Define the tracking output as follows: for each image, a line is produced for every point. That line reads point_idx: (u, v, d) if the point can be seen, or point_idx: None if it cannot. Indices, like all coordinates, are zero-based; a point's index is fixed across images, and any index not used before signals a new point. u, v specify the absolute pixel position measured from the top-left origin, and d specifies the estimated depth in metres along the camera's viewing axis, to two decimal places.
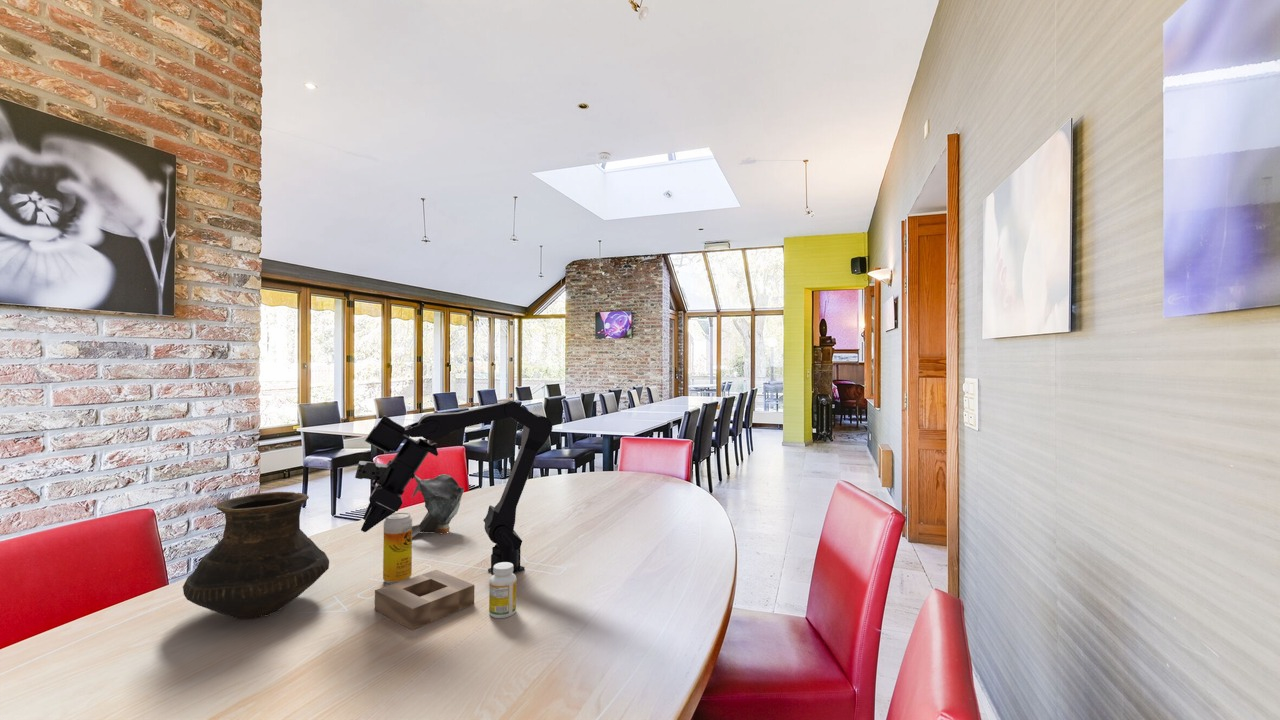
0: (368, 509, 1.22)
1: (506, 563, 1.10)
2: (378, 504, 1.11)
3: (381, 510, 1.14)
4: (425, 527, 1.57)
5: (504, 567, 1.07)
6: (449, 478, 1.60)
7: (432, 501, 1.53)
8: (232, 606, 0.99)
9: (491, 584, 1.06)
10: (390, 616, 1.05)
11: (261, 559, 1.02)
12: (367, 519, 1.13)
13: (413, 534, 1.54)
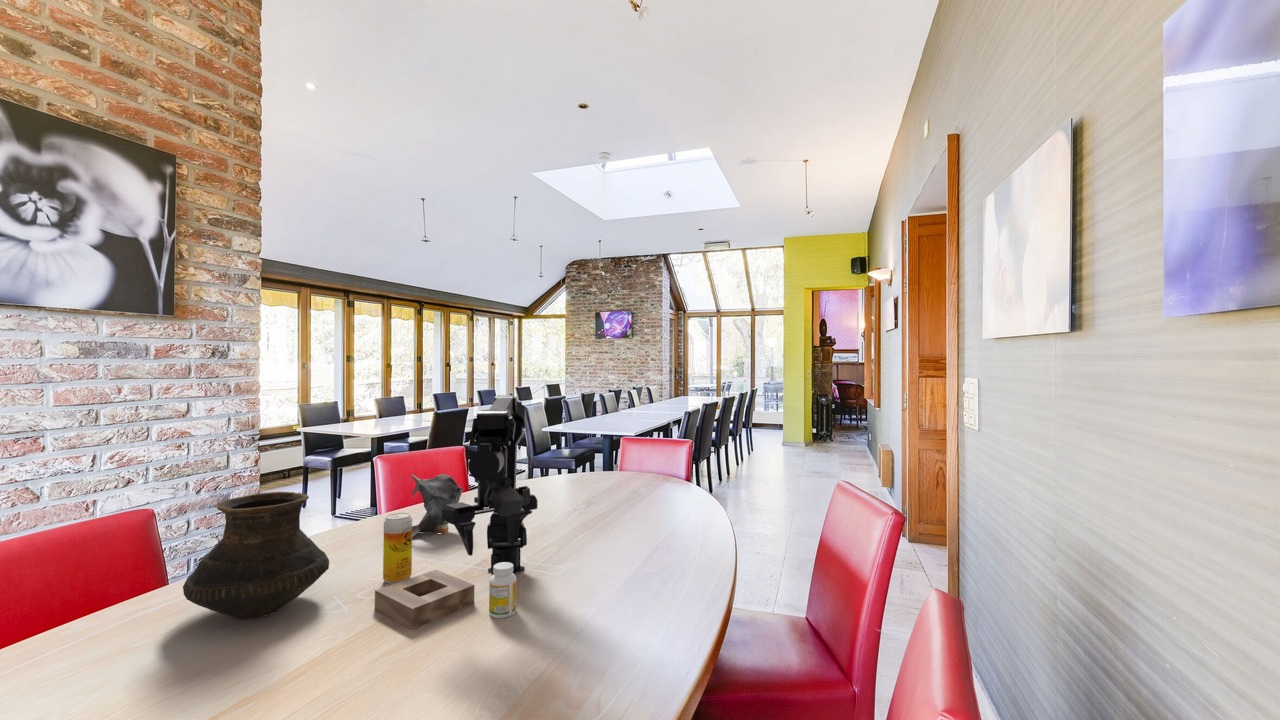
0: None
1: (506, 563, 1.10)
2: None
3: None
4: (424, 527, 1.56)
5: (504, 567, 1.07)
6: (448, 478, 1.60)
7: (431, 501, 1.53)
8: (232, 606, 0.99)
9: (491, 584, 1.06)
10: (390, 616, 1.05)
11: (261, 559, 1.02)
12: None
13: (412, 534, 1.54)
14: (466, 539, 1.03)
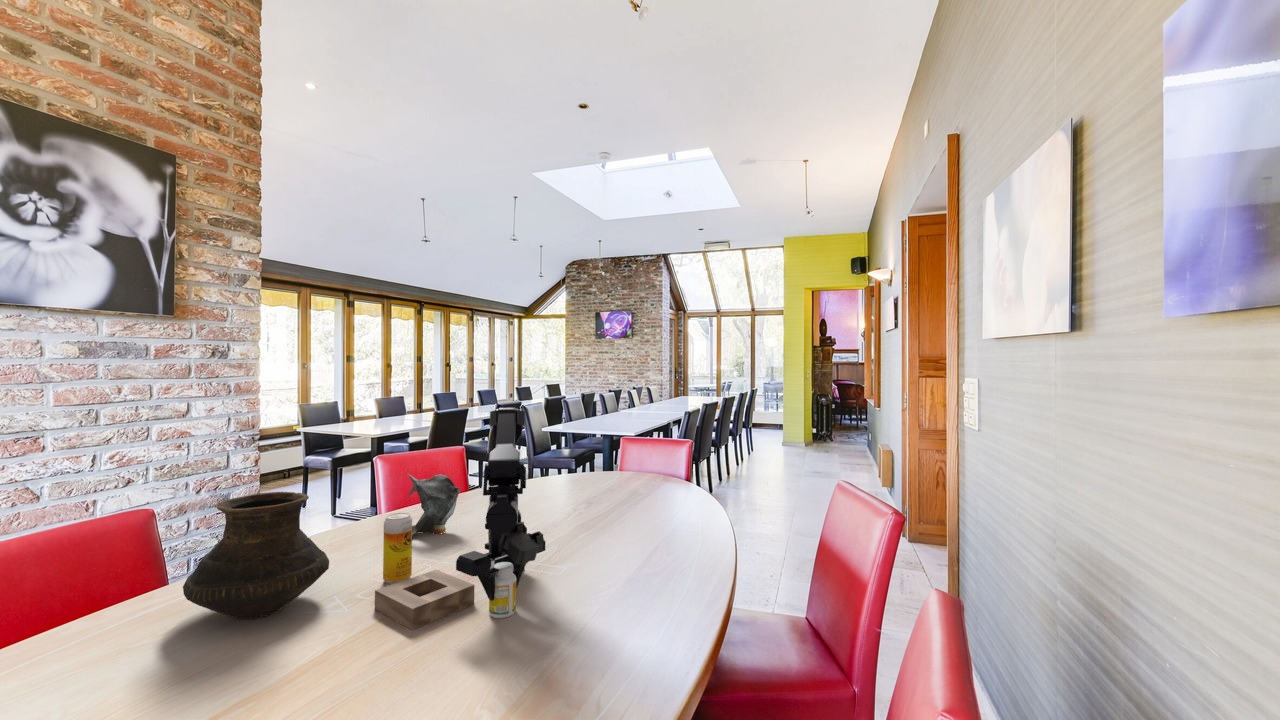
0: None
1: (506, 563, 1.10)
2: None
3: None
4: (421, 528, 1.56)
5: (504, 567, 1.07)
6: (445, 478, 1.60)
7: (428, 502, 1.53)
8: (232, 606, 0.99)
9: None
10: (390, 616, 1.05)
11: (261, 559, 1.02)
12: None
13: None
14: (488, 585, 1.05)
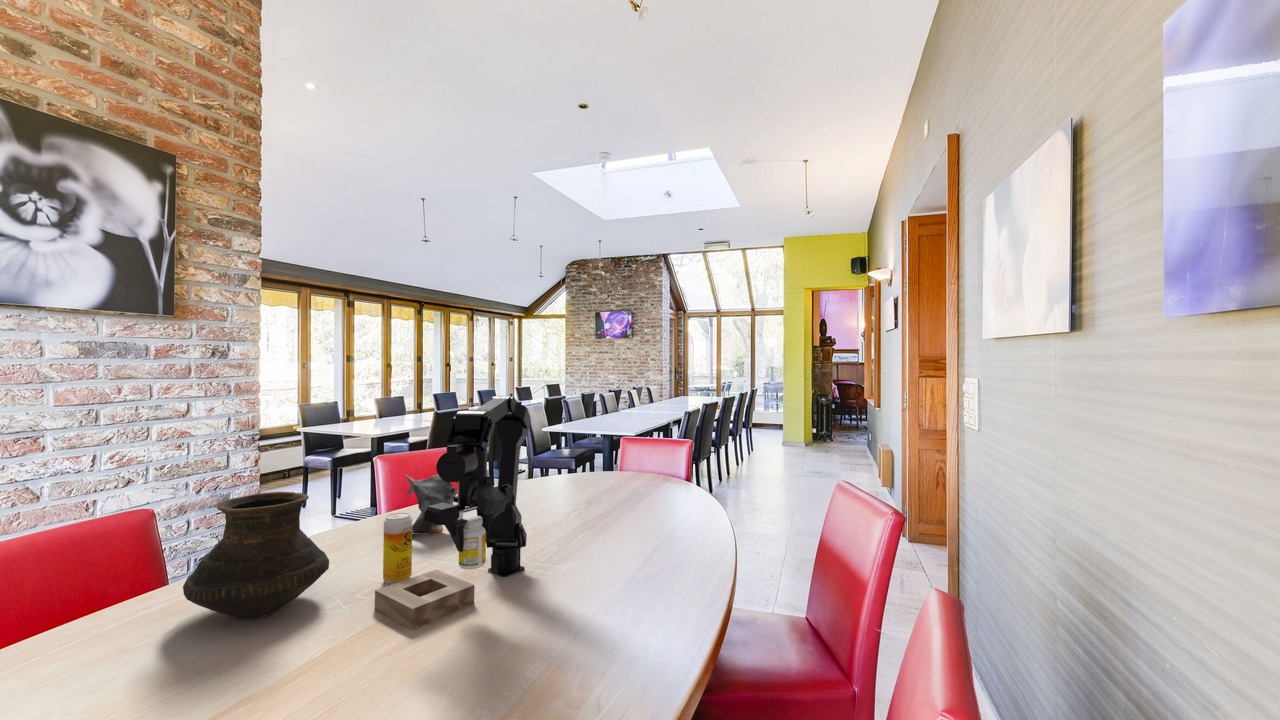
0: None
1: (475, 516, 1.11)
2: None
3: None
4: (418, 528, 1.56)
5: (473, 520, 1.08)
6: None
7: (425, 502, 1.52)
8: (232, 606, 0.99)
9: None
10: (390, 616, 1.05)
11: (261, 559, 1.02)
12: None
13: None
14: (457, 536, 1.06)
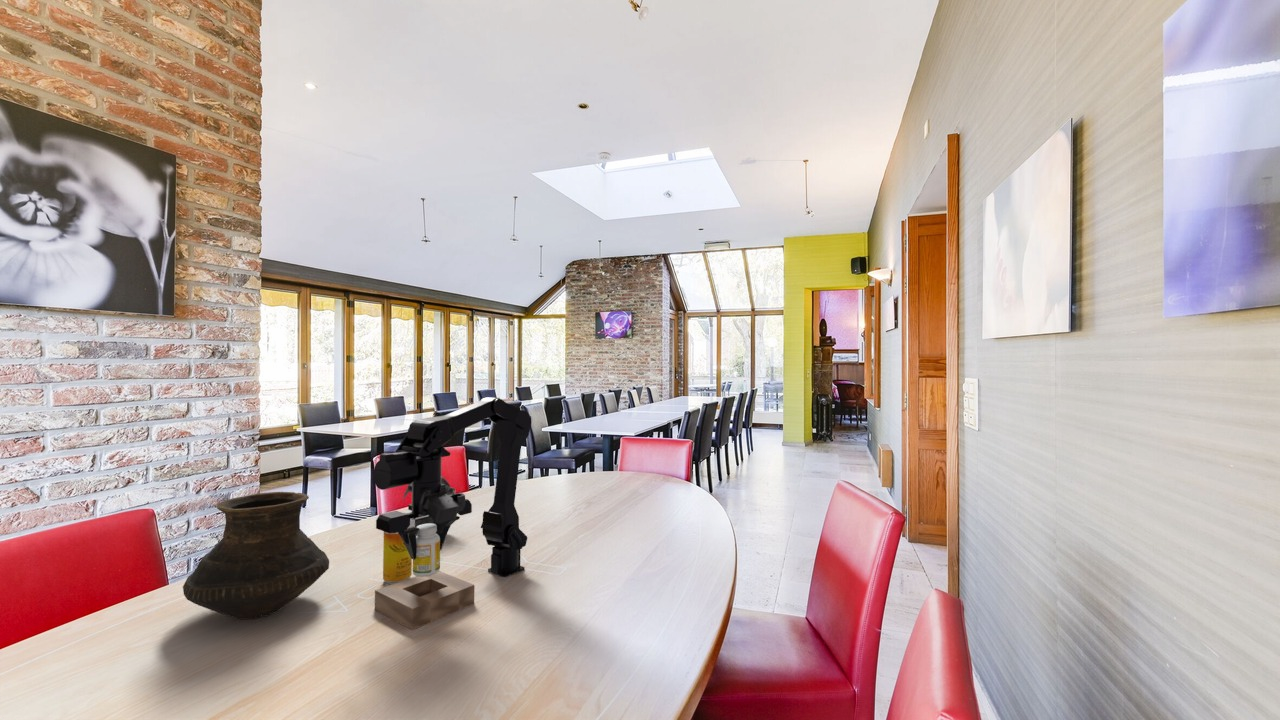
0: None
1: (430, 524, 1.12)
2: None
3: None
4: None
5: (426, 527, 1.10)
6: (441, 479, 1.59)
7: None
8: (232, 606, 0.99)
9: None
10: (390, 616, 1.05)
11: (261, 559, 1.02)
12: None
13: None
14: (409, 544, 1.07)
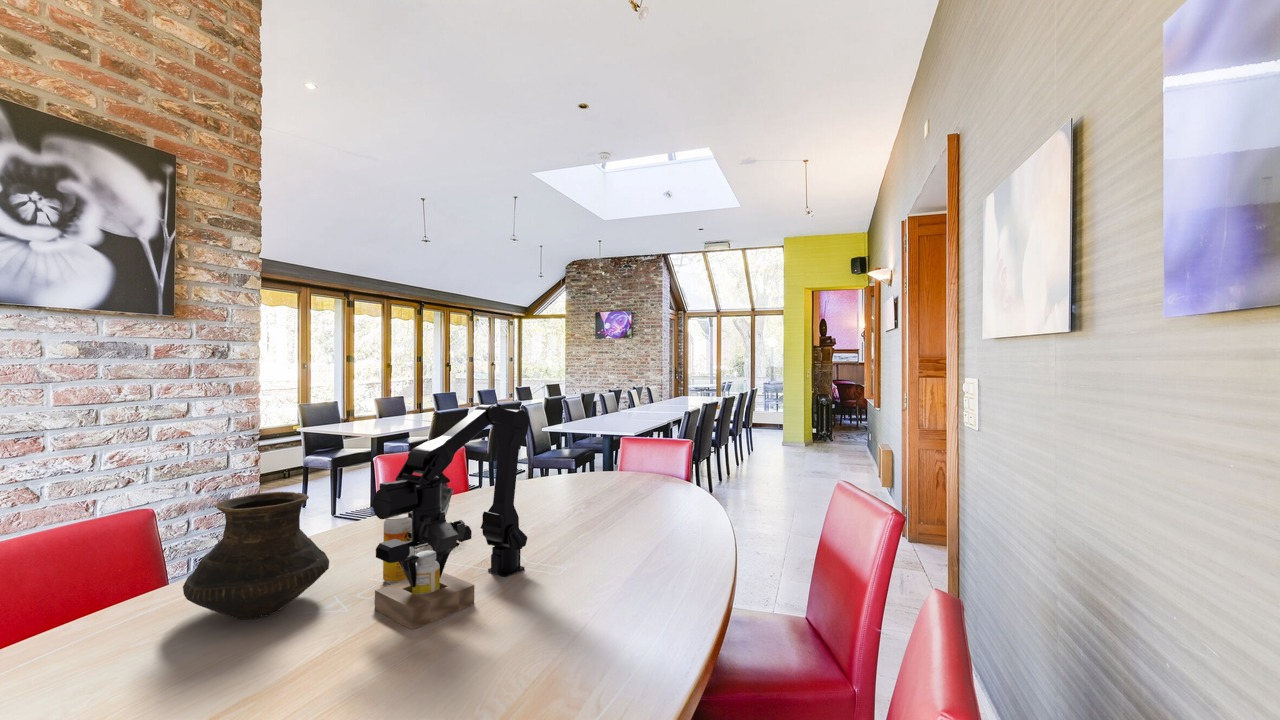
0: None
1: (429, 551, 1.12)
2: None
3: None
4: None
5: (426, 555, 1.10)
6: None
7: None
8: (232, 606, 0.99)
9: None
10: (390, 616, 1.05)
11: (261, 559, 1.02)
12: None
13: None
14: (409, 572, 1.07)
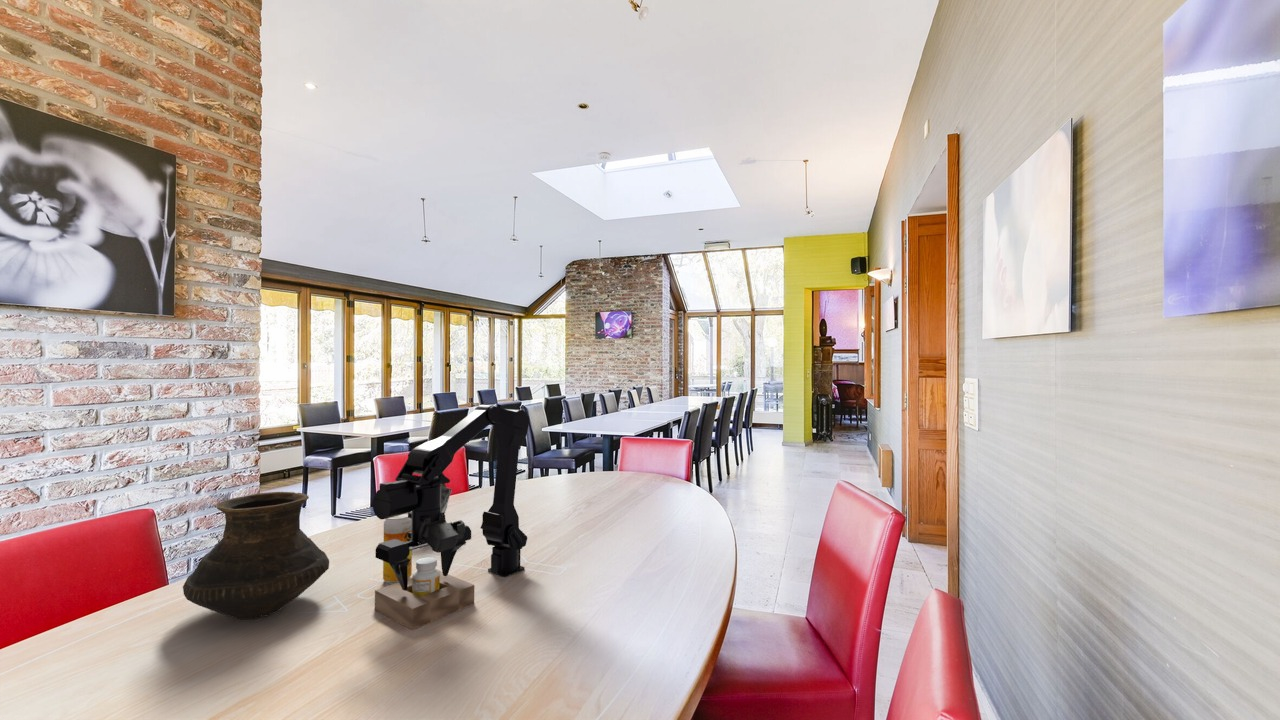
0: None
1: (430, 558, 1.12)
2: None
3: None
4: None
5: (426, 562, 1.10)
6: None
7: None
8: (232, 606, 0.99)
9: (413, 579, 1.09)
10: (390, 616, 1.05)
11: (261, 559, 1.02)
12: None
13: None
14: (400, 575, 1.06)
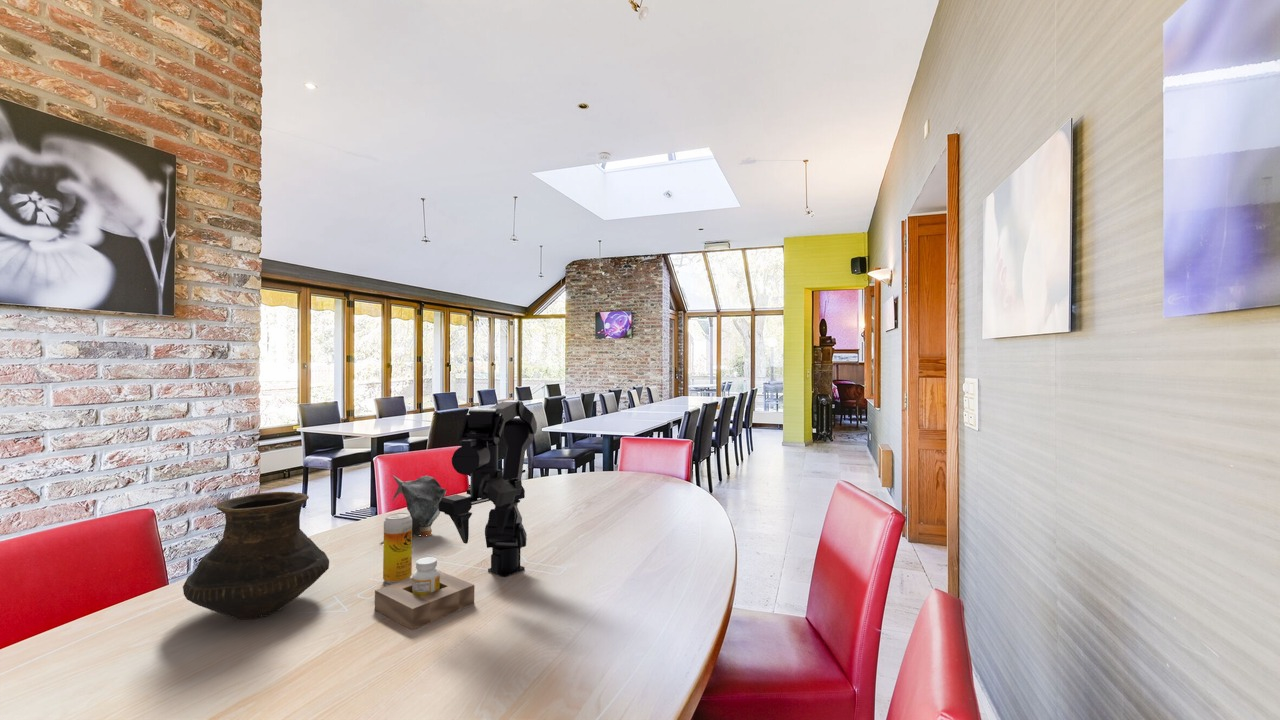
0: None
1: (430, 558, 1.12)
2: None
3: None
4: None
5: (426, 562, 1.10)
6: (431, 480, 1.58)
7: (414, 503, 1.51)
8: (232, 606, 0.99)
9: (413, 579, 1.09)
10: (390, 616, 1.05)
11: (261, 559, 1.02)
12: None
13: None
14: (462, 528, 1.10)
